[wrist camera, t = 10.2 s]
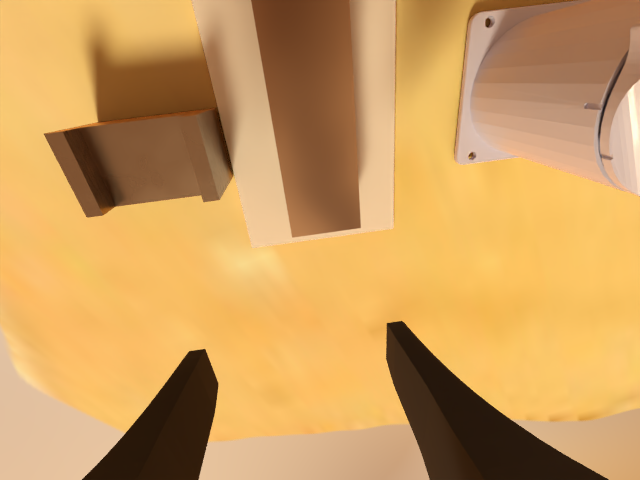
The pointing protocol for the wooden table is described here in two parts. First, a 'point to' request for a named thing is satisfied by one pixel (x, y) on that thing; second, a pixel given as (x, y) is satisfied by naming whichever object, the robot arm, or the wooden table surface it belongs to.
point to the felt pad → (256, 123)
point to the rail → (312, 109)
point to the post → (143, 159)
